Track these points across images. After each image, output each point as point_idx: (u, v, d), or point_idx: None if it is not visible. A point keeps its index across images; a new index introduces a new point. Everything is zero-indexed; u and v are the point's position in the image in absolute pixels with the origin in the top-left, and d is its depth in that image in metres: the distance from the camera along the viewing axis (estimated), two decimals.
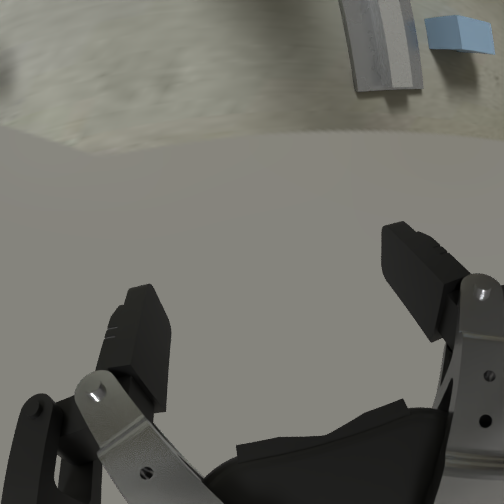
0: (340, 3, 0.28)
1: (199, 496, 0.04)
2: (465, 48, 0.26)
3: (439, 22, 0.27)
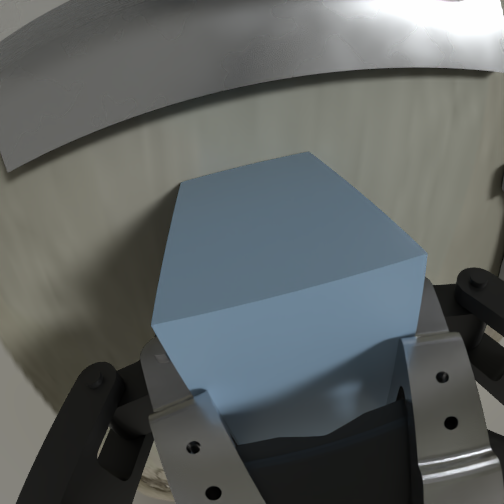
0: None
1: (239, 483, 0.04)
2: (173, 349, 0.05)
3: (315, 185, 0.08)
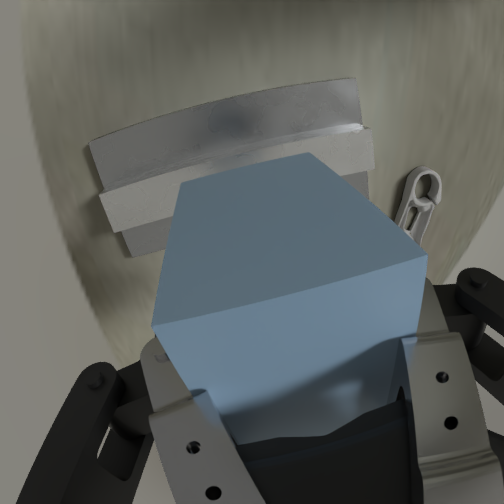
0: (243, 94, 0.21)
1: (239, 483, 0.04)
2: (174, 350, 0.05)
3: (316, 186, 0.08)
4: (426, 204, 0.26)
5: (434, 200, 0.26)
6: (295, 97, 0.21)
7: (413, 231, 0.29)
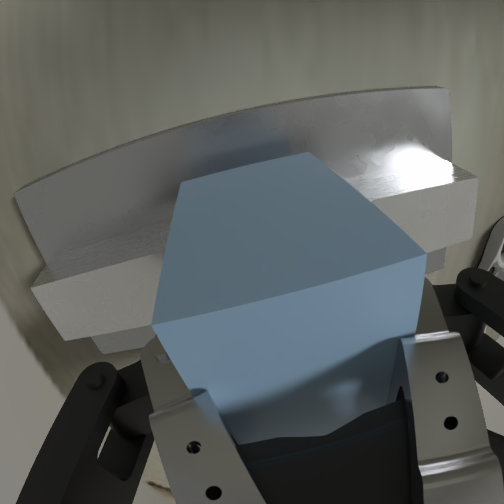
0: (270, 105, 0.12)
1: (239, 483, 0.04)
2: (174, 349, 0.05)
3: (315, 185, 0.08)
4: None
5: None
6: (361, 113, 0.12)
7: None
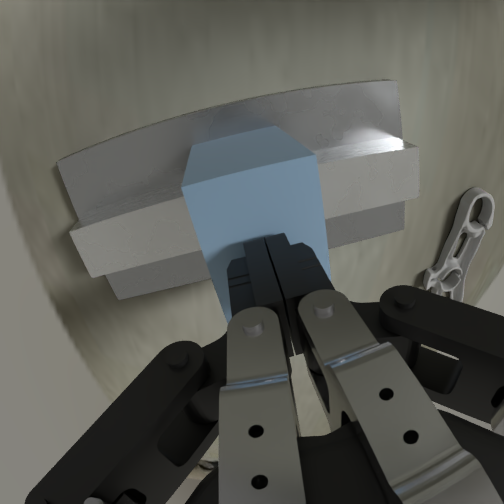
0: (254, 97, 0.16)
1: (288, 479, 0.04)
2: (190, 202, 0.10)
3: (271, 138, 0.13)
4: (478, 230, 0.21)
5: (485, 225, 0.21)
6: (322, 102, 0.16)
7: (460, 258, 0.24)
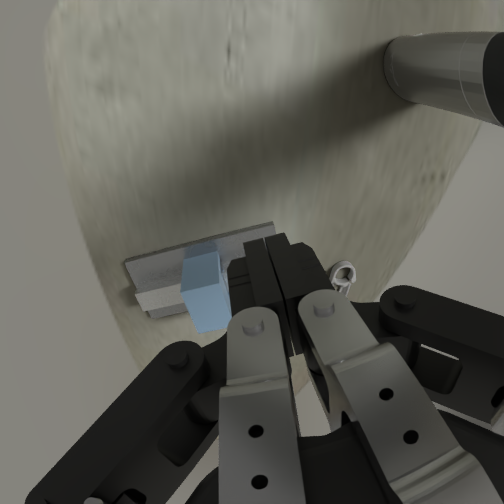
0: (208, 238, 0.41)
1: (288, 479, 0.04)
2: (183, 296, 0.35)
3: (211, 266, 0.38)
4: (344, 283, 0.46)
5: (351, 280, 0.46)
6: (237, 240, 0.41)
7: None
